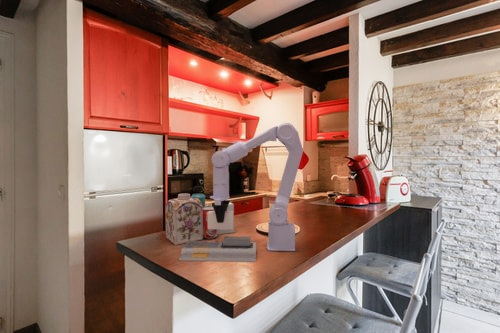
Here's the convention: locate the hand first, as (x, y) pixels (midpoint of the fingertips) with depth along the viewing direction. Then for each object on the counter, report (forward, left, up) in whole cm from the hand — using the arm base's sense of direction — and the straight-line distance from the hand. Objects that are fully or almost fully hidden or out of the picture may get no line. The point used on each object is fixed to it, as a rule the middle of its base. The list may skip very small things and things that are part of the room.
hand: (221, 221), depth 94 cm
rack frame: (-1, +8, -9) cm, 12 cm away
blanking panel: (0, 0, -3) cm, 3 cm away
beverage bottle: (+13, -19, -9) cm, 25 cm away
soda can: (+6, -10, -9) cm, 15 cm away
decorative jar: (+16, -7, -9) cm, 20 cm away
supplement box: (+2, -18, -9) cm, 21 cm away
